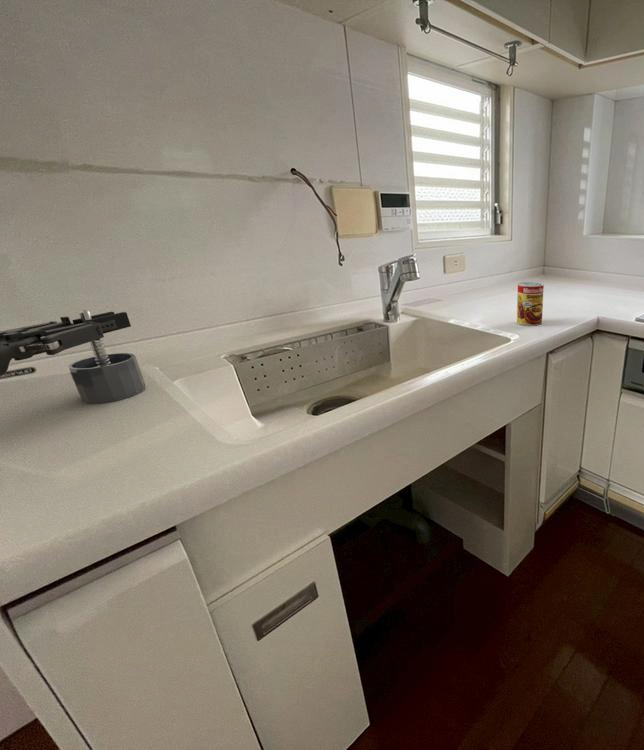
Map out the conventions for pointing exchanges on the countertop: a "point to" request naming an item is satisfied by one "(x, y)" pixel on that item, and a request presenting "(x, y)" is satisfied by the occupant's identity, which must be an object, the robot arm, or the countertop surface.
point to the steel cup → (107, 378)
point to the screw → (96, 344)
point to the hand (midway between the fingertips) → (120, 319)
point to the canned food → (530, 303)
